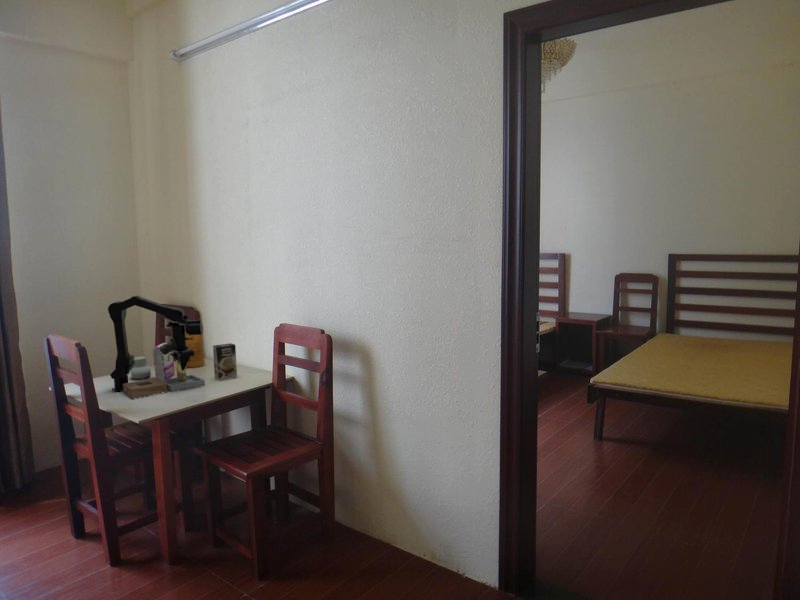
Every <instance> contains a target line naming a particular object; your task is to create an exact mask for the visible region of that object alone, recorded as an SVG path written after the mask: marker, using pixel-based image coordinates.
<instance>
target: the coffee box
mask: <svg viewBox="0 0 800 600" xmlns="http://www.w3.org/2000/svg"><path fill="white" fill-rule="evenodd" d="M212 350H213V351H212V352H213V355H212V356H213V369H214V370H213V372H214V379H215V380H217V381H218V380H219V381H220V382H221V381H225V379H226V380H230V378H232V379H235V378H236V377H237V378H238V370H237V369H238V368H237V351H236V344H235V343H232V342H231V343H221V344H214V345H212ZM219 381H218V382H219Z"/></svg>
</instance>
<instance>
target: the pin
mask: <svg viewBox="0 0 800 600" xmlns="http://www.w3.org/2000/svg"><path fill="white" fill-rule="evenodd" d="M175 368H176V378H177V382H186V381H187V368H186V367H185V370H182V369H181V366H180V361H179V359H177V360H176V361H175Z"/></svg>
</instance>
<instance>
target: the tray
mask: <svg viewBox="0 0 800 600" xmlns="http://www.w3.org/2000/svg"><path fill="white" fill-rule="evenodd" d="M186 376H187V381H186V382H177V377H171V378H169V379H166V380H161V381H163V382H164V383H166V386H167V389H168V390H170V391H171V392H170V391H169V392H170V393H173V392H172V391H174V392H178V391H177V390H179V391H183V390H182V389H184V390H187V389H186V388H189V389H192V388H191V387H194V388H196V386H198V387H202V386H201V385H203V386H205V385H206V384H205V379H204V378H201V377H199V376H197V375H195V374H186ZM168 390H167V391H168Z"/></svg>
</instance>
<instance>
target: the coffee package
mask: <svg viewBox="0 0 800 600" xmlns="http://www.w3.org/2000/svg"><path fill="white" fill-rule="evenodd" d="M185 335H186V337H187V340H186V346H188V349H191V350H193V351H194V356H190V358H189V360H188V362H187V365H186V369H187V367H188V368H190V367H196V368H200V367H199V366H202V367H203V366H204V365H205V358H204V353H203V335H189V334H187V333H186V326H185Z"/></svg>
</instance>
